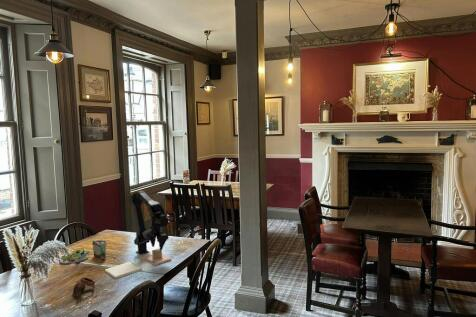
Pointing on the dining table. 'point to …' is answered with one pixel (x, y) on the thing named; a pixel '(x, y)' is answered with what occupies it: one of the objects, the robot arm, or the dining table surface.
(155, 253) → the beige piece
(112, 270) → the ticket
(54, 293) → the dining table surface
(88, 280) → the pottery mug
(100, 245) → the food container
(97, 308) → the dining table surface
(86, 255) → the salad plate
